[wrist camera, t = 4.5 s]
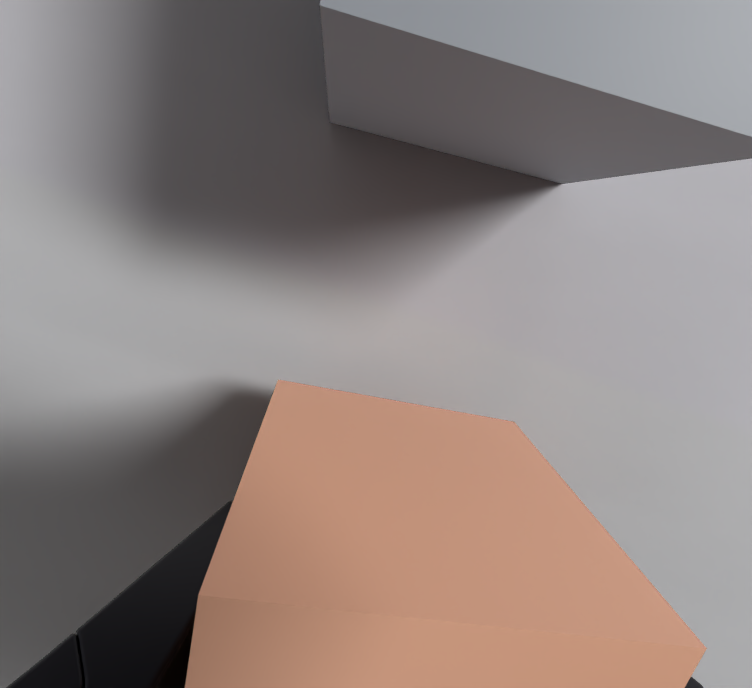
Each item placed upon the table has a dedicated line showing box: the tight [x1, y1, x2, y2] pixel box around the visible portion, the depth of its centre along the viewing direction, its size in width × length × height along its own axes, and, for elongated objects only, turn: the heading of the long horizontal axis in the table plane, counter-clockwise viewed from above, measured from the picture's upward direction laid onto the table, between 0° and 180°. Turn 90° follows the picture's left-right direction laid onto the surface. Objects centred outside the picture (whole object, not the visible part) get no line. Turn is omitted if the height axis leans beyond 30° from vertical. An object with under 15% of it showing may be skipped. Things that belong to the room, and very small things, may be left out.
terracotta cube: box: [185, 380, 707, 688], centre depth 7 cm, size 5×5×5 cm
